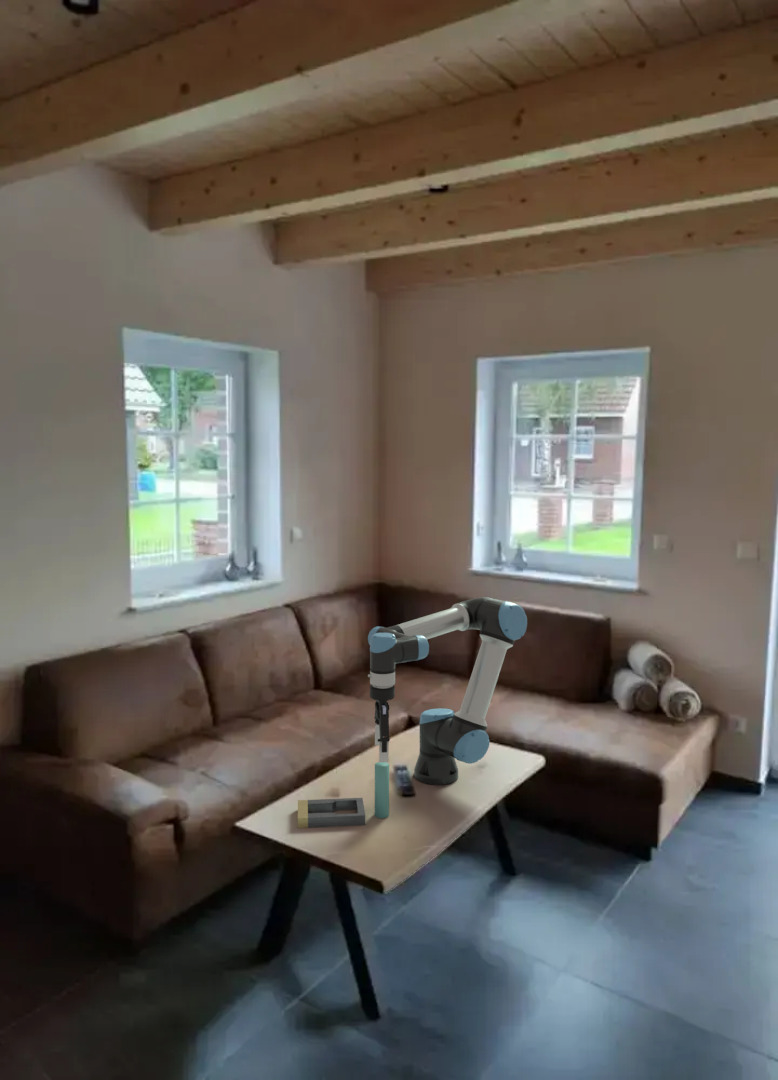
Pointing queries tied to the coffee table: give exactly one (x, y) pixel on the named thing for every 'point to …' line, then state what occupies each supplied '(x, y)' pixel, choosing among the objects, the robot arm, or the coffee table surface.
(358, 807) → the keyhole plate
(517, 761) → the coffee table surface
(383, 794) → the peg
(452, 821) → the coffee table surface
